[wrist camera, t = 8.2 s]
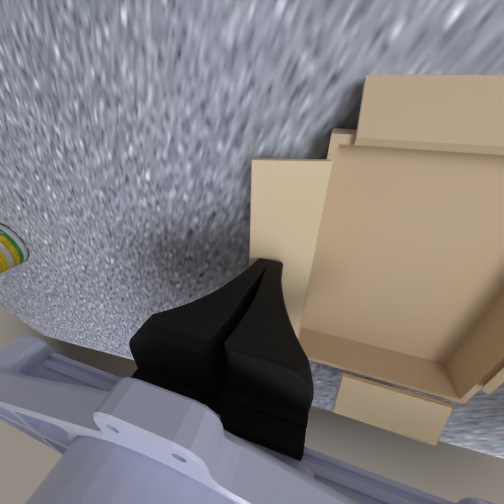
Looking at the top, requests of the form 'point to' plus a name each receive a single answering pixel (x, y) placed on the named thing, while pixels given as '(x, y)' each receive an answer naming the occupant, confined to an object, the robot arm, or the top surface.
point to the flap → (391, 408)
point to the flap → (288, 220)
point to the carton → (414, 239)
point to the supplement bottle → (11, 249)
